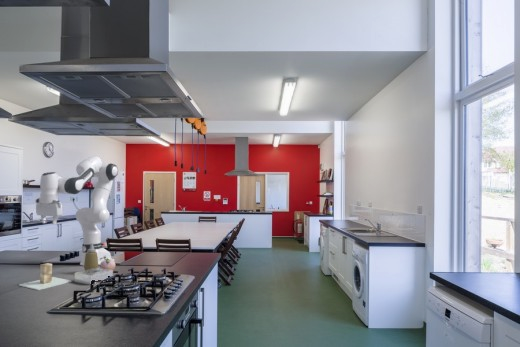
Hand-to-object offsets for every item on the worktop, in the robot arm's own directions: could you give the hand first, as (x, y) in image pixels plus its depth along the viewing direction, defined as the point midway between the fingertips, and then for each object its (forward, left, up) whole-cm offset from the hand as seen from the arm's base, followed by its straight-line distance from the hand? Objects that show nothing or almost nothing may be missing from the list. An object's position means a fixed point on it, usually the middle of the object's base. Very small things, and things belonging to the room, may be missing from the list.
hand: (49, 223), depth 196 cm
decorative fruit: (-24, +21, -32) cm, 45 cm away
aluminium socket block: (-11, +26, -32) cm, 43 cm away
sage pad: (+6, +9, -32) cm, 34 cm away
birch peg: (+6, +9, -31) cm, 33 cm away
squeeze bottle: (-22, +8, -32) cm, 40 cm away
